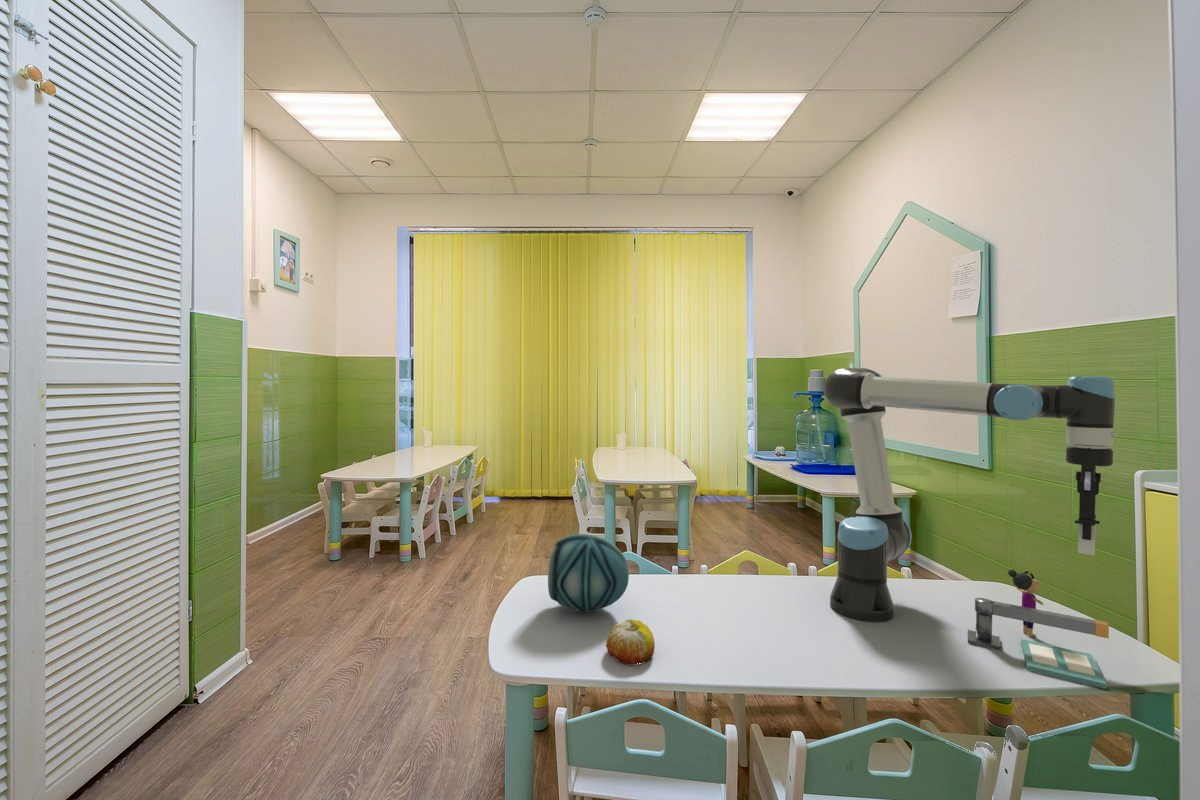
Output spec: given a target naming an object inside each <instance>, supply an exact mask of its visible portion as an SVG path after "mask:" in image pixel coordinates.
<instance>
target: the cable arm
mask: <svg viewBox="0 0 1200 800" xmlns="http://www.w3.org/2000/svg"><path fill="white" fill-rule="evenodd" d="M974 611H975V612H976V611H977V612H979V613H981V614H986V615H992V616H997V617H1002V618H1009V619H1012V620H1018V621H1022V622H1023V621H1027V622H1032V623H1034V624H1038V625H1043V626H1047V627H1052V628H1057V629H1063V630H1067V631H1073V632H1077V633H1081V634H1087V635H1091V636H1095V637H1099V638H1103V639H1108V640H1109V635H1110V634H1109V632H1110V630H1109V629H1110V626H1109V623H1108V622H1107V621H1104V620H1099V619H1090V618H1085V617H1078V616H1075V615H1074V616H1073V615H1070V614H1069V615H1068V614H1063V613H1058V612H1053V611H1048V610H1043V609H1037V608H1036V609H1033V608H1027V607H1022V605H1015V604H1011V603H1007V602H1006V603H1005V602H1001V601H995V600H992V599H988V598H985V597H975V598H974Z"/></svg>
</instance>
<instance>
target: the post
mask: <svg viewBox="0 0 1200 800" xmlns="http://www.w3.org/2000/svg"><path fill="white" fill-rule="evenodd" d="M975 617H976V618H975V631H974V630H970V629H967V643H968V644H971V645H975V646H979V647H983V648H987V649H993V650H997V651H1002V647H1001V646H1002V645H1001V640H1000V636H999V635H993V615H986V614H981V613H979V612H977V611H975Z"/></svg>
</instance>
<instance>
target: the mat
mask: <svg viewBox="0 0 1200 800" xmlns="http://www.w3.org/2000/svg"><path fill="white" fill-rule="evenodd" d="M1020 646H1021V649H1022V650H1021V651H1022V655H1023V658H1024V659H1023V660H1024V661H1025V662H1024V663H1025V666H1026V670H1027V671H1030V672H1035V673H1039V674H1042V675H1047V676H1051V677H1056V678H1058V679H1063V680H1068V681H1070V682H1071V681H1072V682H1075V683H1081V684H1085V685H1088V686H1093V687H1096V688H1101V689H1104V690H1106V689H1107V682H1106V681H1105V678H1104V676H1103V674H1102V672H1101V671H1100V668H1099V667H1098V665H1097V662H1096V660H1095V658H1094V656H1093V655H1092V653H1087V652H1082V651H1078V650H1074V649H1070V648H1069V649H1068V648H1065V647H1060V646H1056V645H1051V644H1047V643H1042V642H1037V641H1032V640H1028V639H1024V638H1020Z"/></svg>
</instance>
